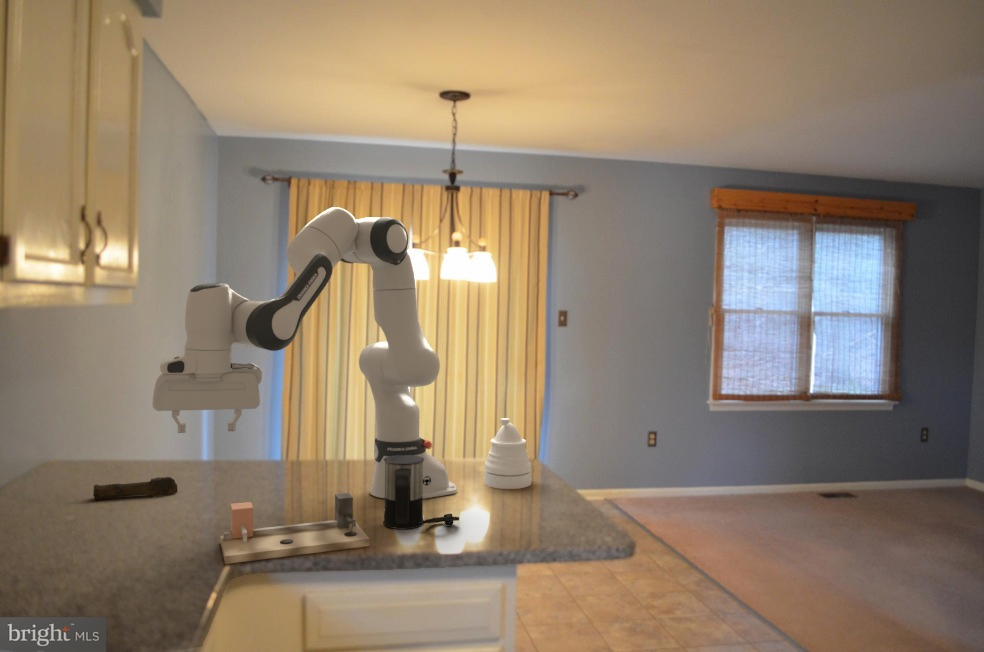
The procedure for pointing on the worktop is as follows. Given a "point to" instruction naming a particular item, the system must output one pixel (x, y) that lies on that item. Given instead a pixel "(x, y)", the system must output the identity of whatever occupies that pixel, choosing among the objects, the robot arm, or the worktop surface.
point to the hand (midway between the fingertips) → (206, 431)
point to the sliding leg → (242, 520)
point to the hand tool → (137, 489)
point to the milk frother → (406, 493)
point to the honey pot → (507, 459)
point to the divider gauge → (298, 537)
